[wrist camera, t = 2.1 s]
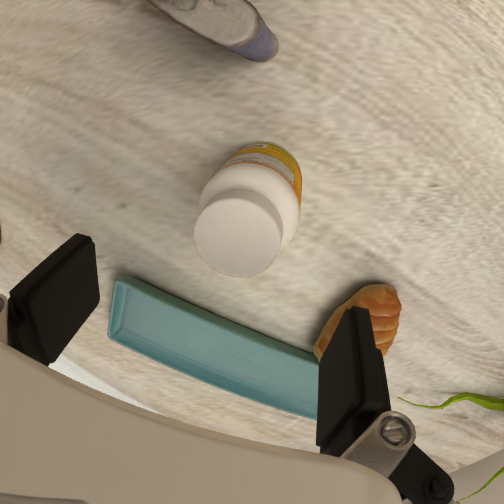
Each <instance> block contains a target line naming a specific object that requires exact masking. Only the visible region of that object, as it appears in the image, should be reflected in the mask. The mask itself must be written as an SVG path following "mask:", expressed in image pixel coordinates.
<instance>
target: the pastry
mask: <svg viewBox="0 0 504 504" xmlns="http://www.w3.org/2000/svg"><path fill="white" fill-rule="evenodd" d="M352 306H358V307H363V308H367V309H369V312H370V317H371V322H372V327H373V333H374V338H375V344H376V348H378V349H380V350H381V352H382V355H383V357H384V356H385V355H386V353H387V350H388V348H389V347H390V346H391V345H392V343H393V340H394V337H395V336H396V333H397V328H398V325H399V315H400V311H401V303H400V301H399V299H398V295H397V292H396V289H395V288H394V287H392V286H389V285H386V284H372V285H366V286H364V287H363V288H361V289H360V290H359V291H358V292H357V293H355V294H353V295H352V297H351V298H350V299H349V300H347V301H346V302H345V303H343V304H341V305H340V306H338V307H337V308H336V309H335V310H334V313H333V315H332V316H331V317H330V318H329V320H328V321H327V323H326V325H325V326H324V328H323V329H322V331H321V332H320V334H319V338H318V339H317V340H316V342H315V344H314V345H313V347H312V350H313V353H314V354H315V355H316V356H317V358H318V361H319V362H320V359H321V357H322V355H323V353H324V351H325V349H326V347H327V346H328V344H329V342H330V340H331V338H332V336H333V334H334V332H335V330H336V328H337V326H338V323H339V321H340V319H341V317H342V315H343V313H344V311H345V309H346V308H348V309H351V307H352Z"/></svg>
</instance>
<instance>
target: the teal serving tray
mask: <svg viewBox="0 0 504 504" xmlns="http://www.w3.org/2000/svg"><path fill="white" fill-rule="evenodd" d="M107 335H108V338H110V339H111V340H113V341H115V342H117V343H119V344H121V345H123V346H125V347H127V348H129V349H131V350H133V351H135V352H137V353H139V354H141V355H143V356H146V357H148V358H150V359H152V360H154V361H156V362H158V363H161V364H163V365H165V366H167V367H170V368H172V369H174V370H177V371H179V372H181V373H183V374H186V375H188V376H190V377H193V378H195V379H198V380H200V381H203V382H205V383H207V384H210V385H213V386H215V387H218V388H220V389H223V390H225V391H228V392H231V393H233V394H236V395H238V396H241V397H244V398H247V399H250V400H252V401H255V402H258V403H261V404H264V405H267V406H270V407H273V408H276V409H279V410H282V411H285V412H289V413H292V414H295V415H299V416H302V417H306V418H309V419H313V420H317V408H318V372H319V363H320V362H319V361H318V358H317V356H315V355H313V354H310V353H308V352H305V351H302V350H300V349H297V348H295V347H292V346H290V345H287V344H285V343H282V342H280V341H277V340H275V339H272V338H270V337H267V336H265V335H262V334H260V333H257V332H255V331H252V330H250V329H248V328H245V327H243V326H240V325H238V324H236V323H233V322H231V321H228V320H226V319H224V318H222V317H219V316H217V315H215V314H212V313H210V312H207V311H205V310H203V309H201V308H198V307H196V306H194V305H192V304H189V303H187V302H185V301H183V300H180V299H178V298H176V297H174V296H172V295H169V294H167V293H165V292H163V291H161V290H159V289H157V288H154V287H152V286H150V285H148V284H146V283H144V282H142V281H140V280H137V279H135V278H122V279H117V280H115V282H114V289H113V297H112V305H111V312H110V319H109V325H108V333H107Z"/></svg>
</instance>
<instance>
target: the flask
mask: <svg viewBox="0 0 504 504" xmlns="http://www.w3.org/2000/svg"><path fill="white" fill-rule="evenodd" d="M147 1H148V2H149V3H150V4H152V5H153V6H155V8H157V9H159V10H160V11H161V12H162V13H164V14H165V15H166V16H168V17H169V18H170V19H172V20H174V21H175V22H177V23H179V24H180V25H182V26H183V27H185V28H186V29H188V30H190V31H191V32H193V33H196V34H197V35H199V36H201V37H203V38H204V39H206V40H208V41H209V42H211V43H213V44H214V45H218V46H221V47H223V48H225V49H227V50H230V51H233V52H236V53H238V54H239V55H242V56H244V57H246V58H247V59H249V60H252V61H258V62H264V61H267V60H269V59H271V58H272V57H274V56H275V54H276V53H277V51H278V40H277V38H276V37H275V35H274V34H273V33H272V32H271V31H270V30H269V28H268V27H267V26H266V24H265V22H264V21H263V19H262V18H261V16H260V14H259V13H258V11H257V10H256V8H255V7H254V6H253V5H252V4H251V3H250V2H249V1H247V0H147Z"/></svg>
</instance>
